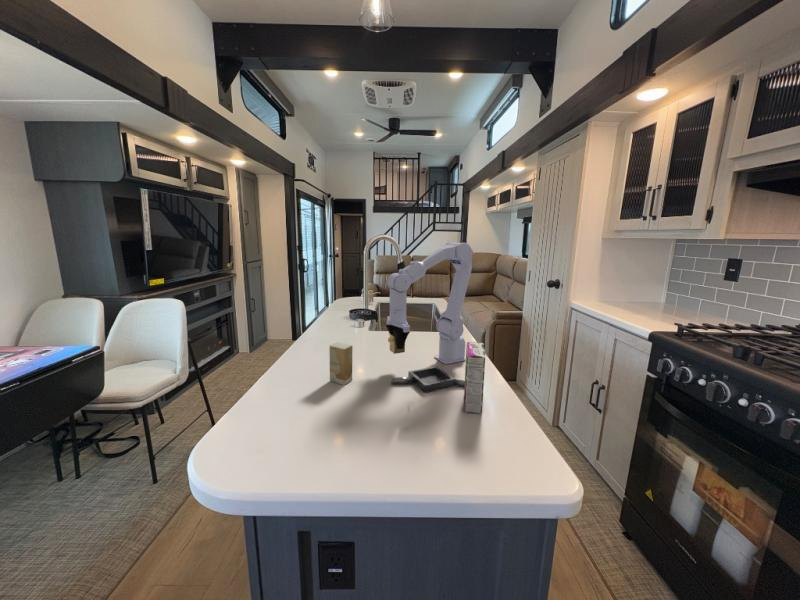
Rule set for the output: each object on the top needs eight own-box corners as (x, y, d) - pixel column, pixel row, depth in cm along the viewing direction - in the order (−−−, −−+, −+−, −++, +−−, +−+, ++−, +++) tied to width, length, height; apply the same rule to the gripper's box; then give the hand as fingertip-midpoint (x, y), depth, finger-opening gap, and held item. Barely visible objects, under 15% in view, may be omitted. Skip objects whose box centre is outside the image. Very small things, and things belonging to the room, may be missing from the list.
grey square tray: (436, 372, 110) (436, 365, 110) (455, 386, 101) (455, 378, 100) (408, 378, 106) (408, 371, 105) (424, 393, 96) (425, 385, 96)
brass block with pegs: (402, 347, 115) (403, 331, 114) (407, 351, 111) (408, 335, 110) (386, 350, 112) (386, 334, 111) (391, 354, 109) (391, 337, 107)
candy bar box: (463, 392, 97) (466, 341, 93) (480, 394, 96) (484, 342, 92) (463, 412, 86) (466, 355, 83) (482, 415, 85) (486, 356, 82)
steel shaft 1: (412, 381, 104) (412, 375, 103) (413, 384, 102) (413, 378, 101) (391, 382, 103) (391, 376, 103) (391, 385, 101) (391, 379, 101)
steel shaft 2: (453, 386, 101) (453, 380, 100) (453, 383, 102) (454, 378, 102) (476, 389, 99) (476, 383, 98) (476, 386, 101) (476, 380, 100)
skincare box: (329, 381, 103) (328, 345, 101) (337, 376, 107) (336, 341, 105) (345, 385, 100) (344, 348, 98) (353, 380, 104) (352, 344, 102)
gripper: (379, 305, 113) (379, 341, 116) (396, 314, 101) (395, 355, 103) (397, 303, 116) (396, 339, 119) (415, 312, 104) (415, 352, 106)
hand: (397, 346), depth 111 cm, fingers closed on brass block with pegs, 4 cm apart
